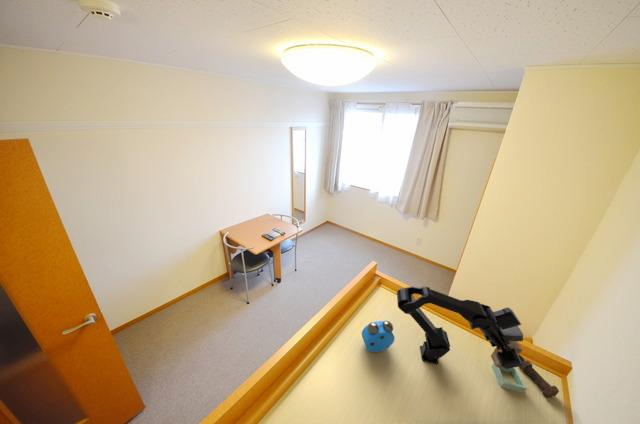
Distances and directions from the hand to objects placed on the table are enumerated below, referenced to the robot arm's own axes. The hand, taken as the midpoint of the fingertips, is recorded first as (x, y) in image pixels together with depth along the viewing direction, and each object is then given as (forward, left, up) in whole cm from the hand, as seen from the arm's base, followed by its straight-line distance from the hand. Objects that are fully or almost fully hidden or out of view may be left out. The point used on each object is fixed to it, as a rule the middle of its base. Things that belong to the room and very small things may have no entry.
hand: (509, 353), depth 88 cm
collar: (+3, -2, -13) cm, 13 cm away
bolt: (+14, +2, -14) cm, 19 cm away
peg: (-1, 0, -7) cm, 7 cm away
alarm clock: (-50, -1, -13) cm, 52 cm away
